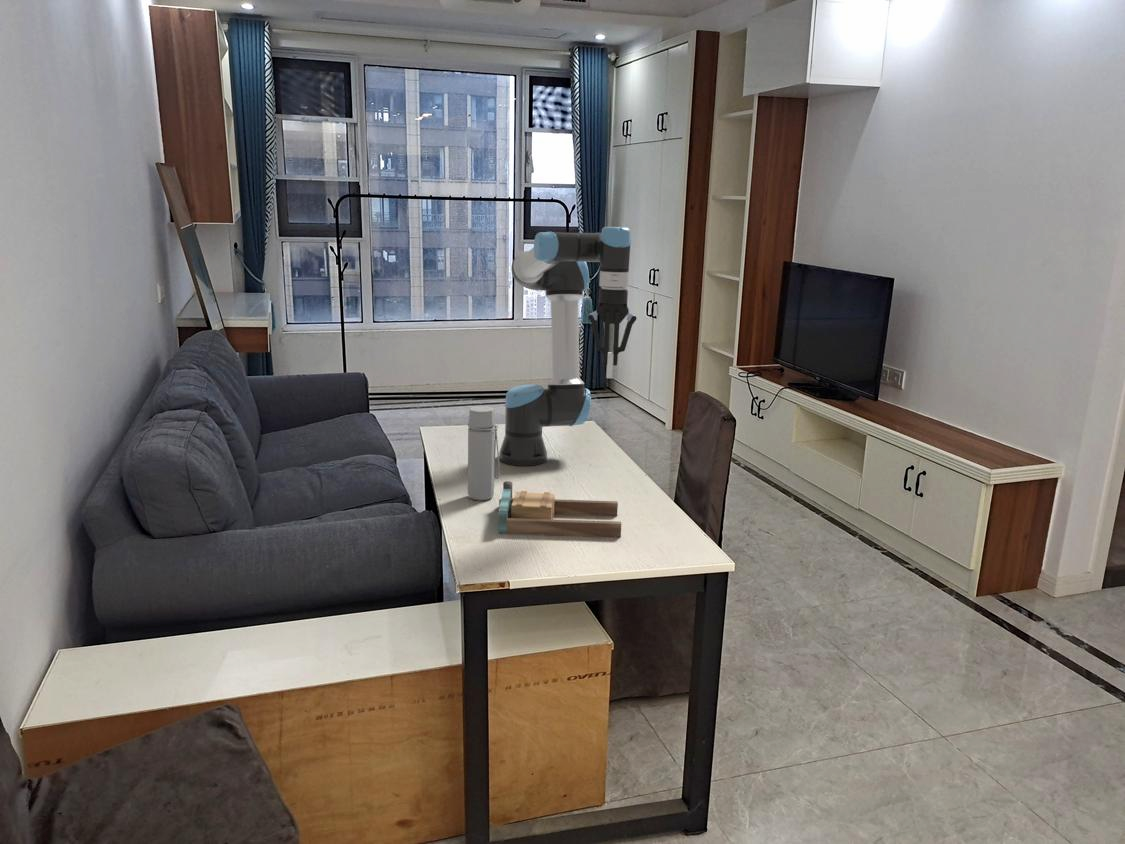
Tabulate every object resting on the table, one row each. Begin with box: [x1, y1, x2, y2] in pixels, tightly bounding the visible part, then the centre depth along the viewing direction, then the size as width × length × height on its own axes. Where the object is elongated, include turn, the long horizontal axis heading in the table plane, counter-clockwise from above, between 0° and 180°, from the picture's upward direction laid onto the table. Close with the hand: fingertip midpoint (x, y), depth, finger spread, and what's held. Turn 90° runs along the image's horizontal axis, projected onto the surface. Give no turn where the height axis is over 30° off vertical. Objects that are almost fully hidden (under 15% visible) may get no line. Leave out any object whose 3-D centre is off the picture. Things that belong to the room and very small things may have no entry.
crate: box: [510, 490, 556, 520], centre depth 212 cm, size 10×10×6 cm
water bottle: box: [467, 405, 501, 502], centre depth 226 cm, size 9×8×25 cm
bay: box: [497, 480, 622, 538], centre depth 213 cm, size 20×31×7 cm, turn 90°
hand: (609, 377), depth 221 cm, fingers closed
